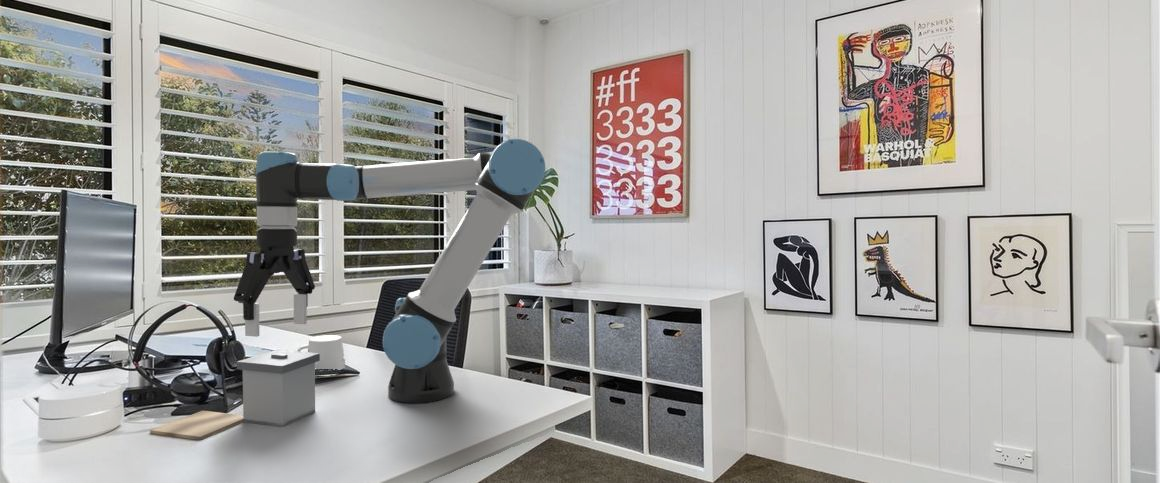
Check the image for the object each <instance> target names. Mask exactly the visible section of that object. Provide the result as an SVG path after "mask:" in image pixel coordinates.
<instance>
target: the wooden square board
mask: <svg viewBox="0 0 1160 483" xmlns="http://www.w3.org/2000/svg"><path fill="white" fill-rule="evenodd" d="M241 423H245V422H244V419H243V415H242V414H237V413H236V414H235V413H234V414H233V413H228V412H227V413H226V412H225V413H224V412H218V411H210V410H200V411H198V412H195V413H193V414H190V415H187V416H184V417H181V418H179V419H175V420H173V421H171V422H168V423H166V424H165V423H164V424H163V425H160V426H157V427H154V428H153V429H150V430H149V433H150V434H153V435H161V436H169V437H176V438H184V439H192V440H199V441H201V440H203V439H205V438H208V437H210V436H213V435H216V434H218V433H220V432H222V431H224V430H227V429H229V428H232V427H234V426H236V425H239V424H241Z"/></svg>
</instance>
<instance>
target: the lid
mask: <svg viewBox="0 0 1160 483" xmlns="http://www.w3.org/2000/svg"><path fill="white" fill-rule="evenodd" d="M317 361H320V353H310V352H308V351H300V352H298V351H297V350H284V349H274V350H270V351H268V352H264V353H261V354H258V355H254V356H250V357H248V358H244V359H241V360H237V361H236V370H240V371H243V370H248V371H258V372H269V373H279V374H284V373H287V372H289V371H292V370H295V369H298V368H301V367H303V366H306V365H309V364H312V363H315V362H317Z"/></svg>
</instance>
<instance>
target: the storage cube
mask: <svg viewBox="0 0 1160 483" xmlns="http://www.w3.org/2000/svg"><path fill="white" fill-rule="evenodd" d="M242 403H243V404H242V407H243V409H242V412H243V419H244V422H243V423H249V424H258V425H266V426H274V427H275V426H276V427H286V426H288V425H290V424H292V423H294V422H297V421H299V420H301V419H303V418H305V417H307V416H309V415H311V414H313V413H315V412H316V377H315V363H312V364H309V365H306V366H303V367H301V368H298V369H295V370H292V371H289V372H287V373H284V374H279V373H269V372H258V371H248V370H242Z"/></svg>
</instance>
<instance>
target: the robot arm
mask: <svg viewBox="0 0 1160 483" xmlns="http://www.w3.org/2000/svg"><path fill="white" fill-rule="evenodd" d="M255 170H256V171H255V181H256V182H255V183H256V184H255V186H256V188H255V190H256V225H257V226H259V227H260V228H257V229H256V245H257V246H258V247H259V248H260V249H259V250H260V251H259V252H248V253H247V254H246V262H245V266H244V268H243V271H242V274H241V276H240V280H239V283H238V285H237V287H236V291H235V294H234V296H233V300H234V301H235V302H238V303H239V304H242V312H243V315H242V317H243V320H244V334H245V336H246V337H253V338H254V337H255V338H256V337H257V338H258V337H260V303H259V302H257V300H258V299H259V297H260V296H261V293H262V292H263V290H264V288H265V287H266V285H267V283H268V281H269V280H270V278H271V277H272V276H275V274H279V273H283V274H284V275H285V276H286V278H287V279H288V282H290V284H291V286H292V287H293V289H294V290H295V292H296V293H293V324H294V325H295V324H296V325H307V319H308V317H307V312H308V311H307V310H308V309H307V308H308V301H309V300H308V299H309V298H308V295H311V294H312V293H313V291H314V290H315V288H316V285H315V282H314V280H313V279H314V278H313V277H312V274H311V271H310V268H309V265H308V263H307V260H306V252H305V249H303V248H302V249H301V248H294V247H296V246H297V245H298V230H297V229H296V228H295V227H297V225H298V203H297V202H298V200H318V201H319V200H320V201H321V200H322V201H324V200H325V201H336V202H338V201H339V202H349V201H354V200H364V199H374V198H376V199H377V198H387V197H400V196H402V197H404V196H413V195H424V194H425V195H427V194H439V193H441V194H442V193H452V192H454V193H455V192H468V191H476V195H475V196H474V199H473V200H472V202H471V204H470V205H469V207H468V208H467V210H466V211H465V214H464V215H463V216H462V218H461V220H460V221H459V223H458V225H457V227H456V228H455V230H454V231H453V233H452V235H451V237H450V238H449V240H448V241H447V243H446V245H445V247H444V248H443V249H442V251H441V253H440V254H439V256H438V257H437V259H436V261H435V263H434V264H433V266H432V268H431V270H430V271H429V273H428V275H427V277H426V278H425V279H424V281H423V282H422V284H421V286H420V288H419V289H417V290H415V291H410V292H408V294H407V295H406V297H399V298H397V300H396V302H395V307H394V312H395V315H394V316H393V318H392V320H391V321H390V322H388V323H387V325H386V326H385V328H384V331H383V333H382V334H383V335H382V348H383V351H384V353H385V355H386V357H387V358H388V360H389V361H390V362H392V364H394V368H393V369H392V373H391V377H390V379H389V383H388V386H387V390H388V391H387V392H388V393H387V395H388V398H389V399H390V400H393V401H395V402H399V403H409V404H410V403H411V404H417V403H418V404H419V403H421V404H422V403H430V402H436V401H440V400H443V399H447V398H449V397H450V396H452V395H453V394H454V392H455V383H454V379H453V375H452V372H451V369H450V367H449V364H448V361H447V336H448V334H449V333H450V331H451V330H452V328H453V326H454V324H455V323H456V322H457V317H456V313H455V310H456V307H458V304H459V303H460V301H461V299H462V298H463V296H464V295H465V293H466V291H467V289H468V288H469V286H470V285H471V283H472V281H473V279H475V276H476V274H477V273H478V271H479V270H480V268H481V267H482V264H484V262H485V259H486V258H487V256H488V255H489V253H490V252H491V250H492V248H493V247H494V245H495V243H496V242H497V240H498V239H499V237H500V235H501V233H502V231H503V230H504V228H505V227H506V225H507V223H508V222H509V220H510V219H511V216H513V215H516V214H519V213H522V212H523V211H524V209H525V207H526V206H527V204H528V202H529V200H530V198H531V197H532V196H533V193H534V192H535V190H536V189H538V188H539V186H540V185H541V184H542V182H543V180H544V178H545V175H546V161H545V158H544V156H543V154H542V153H541V151H540V149H539V148H538V147H537V146H536V145H534V144H533V143H532V142H529V141H528V140H525V139H521V138H520V139H519V138H511V139H506V140H504V141H502V142H501V143H499V144H498V145H497V146H496V147H495V148H494V149H492V151H486V152H479V153H477V154H476V156H474V157H466V158H465V157H464V158H463V157H462V158H453V159H438V160H425V161H411V162H398V163H397V162H396V163H384V164H383V163H382V164H373V165H357V166H355V165H354V164H353V165H352V164H345V163H338V162H337V163H313V162H312V163H309V162H299V161H298V156H297V155H296V154H295V153H294V152H286V151H261V152H260V153H259V154H258V155H257V157H256V169H255ZM257 246H256V247H257Z"/></svg>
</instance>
